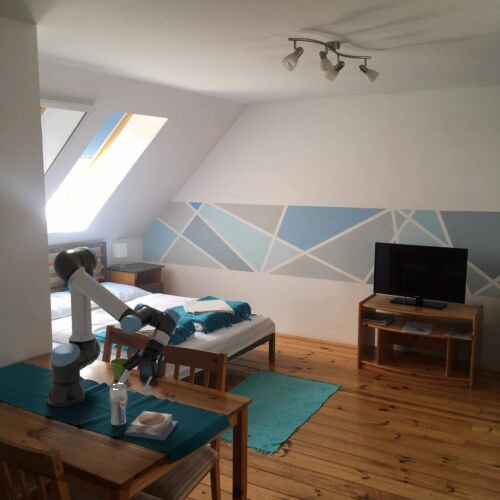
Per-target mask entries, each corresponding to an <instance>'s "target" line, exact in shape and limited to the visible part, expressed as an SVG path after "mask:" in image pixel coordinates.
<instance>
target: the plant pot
mask: <svg viewBox="0 0 500 500" xmlns="http://www.w3.org/2000/svg"><path fill="white" fill-rule="evenodd" d="M128 359H129V358H124V357H120V358H119V357H118V358H114V359H112V360H110V362H109V363H110V366H111V369H112V376H113V380H114V381H117V382H119V380H120V378H121V377H122V376H121V374H122V373H123V371H124V367H123V366H122V365H123V364H124V363H125V362H126V361H127V360H128Z"/></svg>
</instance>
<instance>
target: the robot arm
mask: <svg viewBox="0 0 500 500" xmlns="http://www.w3.org/2000/svg"><path fill="white" fill-rule="evenodd" d="M98 262H99V261H98V256H97V254H96V252H95V251H94V250H93V249H92V248H90V247H87V246H77V247H74V248H70V249H66V250H61V251H60V252H58V253H57V255H55V258H54V260H53V269H54V271H55V273H56V275H57V276H58V277H59V278H60V279H61V281H63V282H64V284H66V285H67V286H69V288H70V309H71V310H70V315H71V335H70V336H69V337H68V343H64V344H59V345H58V346H55V347H54V348H53V349H52V350H51V354H50V367H51V368H50V369H51V371H50V374H51V375H50V376H51V385H50V388H49V392H48V395H47V403H48V405H50V406H51V407H55V408H57V407H58V408H68V407H74V406H77V405H78V404H81V403H82V402H84V400H85V395H86V394H85V390H84V388H83V386H82V383H81V370H83V369H85V368H86V367H88V366H91V365H92V364H94V363H95V361H97V359H99V357H100V355H101V344H100V342H99V341H98V339H97V338H96V335H95V334H94V333H93V327H92V325H93V323H92V302H93V303H95V305H96V306H98V307H99V308H101V309H102V310H103V311H105V313H107V314H108V315H110V316H111V317H112V318H113V319H114V320H115V321H117V322H118V323H119V324H120V328H121V330H122V332H123V333H125V334H127V335H132V334H135V333H137V332H139V331H140V330H142V329H143V328H146V327H147V326H149V327H152V328H154V330H153V332H152V334H151V335H150V337H149V339H148V340H147V343H146V344H145V346H144V347H145V348H144V350H142V349H140V348H138V349H137V350H136V351H135V353H134V354H132V355H131V356H130V357H129V358H127V359H128V360H127V361H126V362H125V363H124V364H123V365H122V366H123V367H124V371H123V373H122V374H121V376H122V377H121V378H120V380H119V381H117V383H123V384H126V381H127V379H128V378H129V376H130V374H131V371H132V370H134V369H135V368H136V367H138V366H140V364H141V363H144V362H145V363H149V364H151V370H152V377H151V376H150V378H149V380H146V381H147V382H146V384H145V385H144V387H143V389H142V392H143V393H144V394H145V395H148V394H149V392H150V390H151V388H152V387H153V386H154V385H155V384H156V382H157V381H158V380H157V379H159V380H162V378H163V372H164V362H165V360H166V357H165V356H164V355H163V352H164V350H165V347H167V345H168V343H169V340H171V337H172V335H173V333H174V332H175V330H176V328H177V326H178V324H179V321H180V319H181V314H180V313H179V312H178V311H176V310H175V309H172V308H166V309H165V310H164V311H162V310H159V309H158V308H156V307H155V308H154V307H152V306H150V305H148V304H145V303H142V302H139V303H137V304H136V305H135V307H134V308H132V307H130V306H129V305H127V303H126V302H125V301H123V300H122V299H120V298H119V297H118V296H117V295H115V294H114V293H113V292H111V291H110V290H109V289H107V288H106V286H104V285H102V284H101V282H99V281H98V280H97V279H95V278H94V275H95V274H94V270H95V269H96V268H97V266H98ZM156 362H157V363H158V366H157V368H156V365H157V364H156ZM156 380H157V381H156Z"/></svg>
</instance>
